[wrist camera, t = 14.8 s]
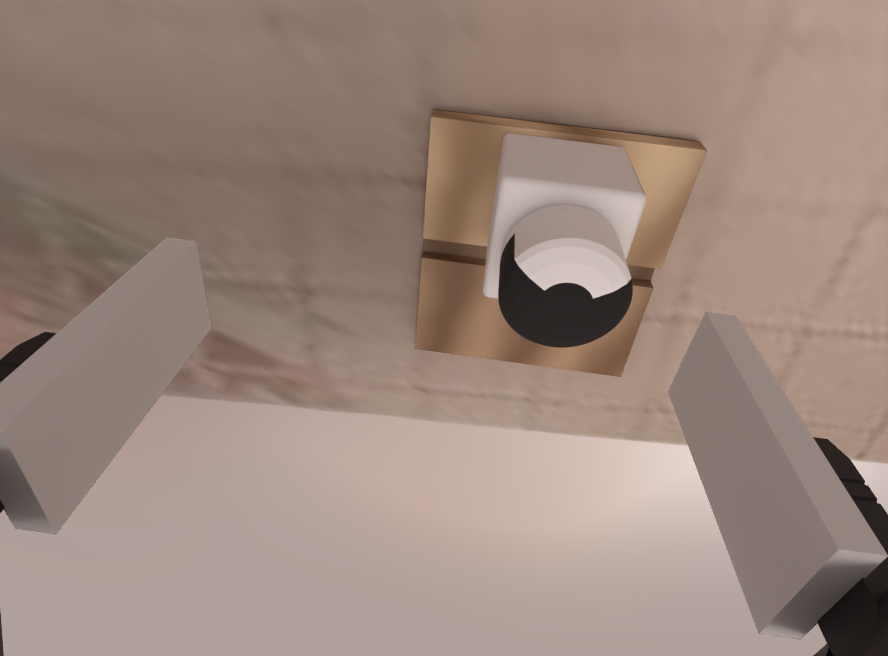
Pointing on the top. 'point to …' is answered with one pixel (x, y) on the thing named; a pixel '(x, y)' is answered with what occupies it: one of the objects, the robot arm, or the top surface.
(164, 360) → the robot arm
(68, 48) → the top surface
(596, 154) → the medicine bottle
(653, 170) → the plank
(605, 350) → the laid board
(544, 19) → the top surface
